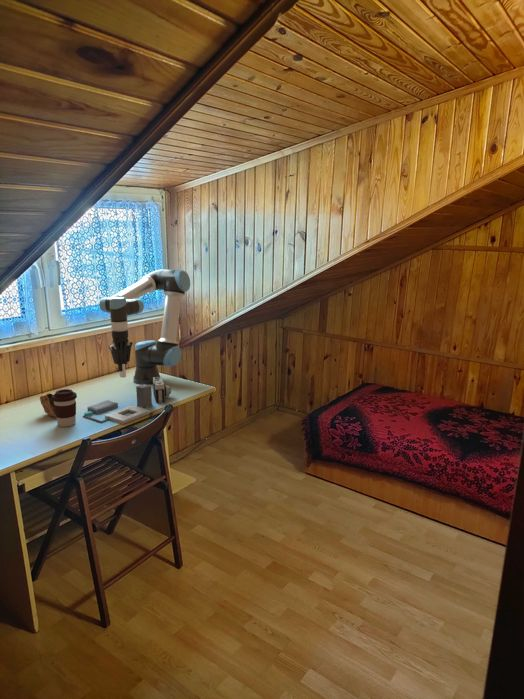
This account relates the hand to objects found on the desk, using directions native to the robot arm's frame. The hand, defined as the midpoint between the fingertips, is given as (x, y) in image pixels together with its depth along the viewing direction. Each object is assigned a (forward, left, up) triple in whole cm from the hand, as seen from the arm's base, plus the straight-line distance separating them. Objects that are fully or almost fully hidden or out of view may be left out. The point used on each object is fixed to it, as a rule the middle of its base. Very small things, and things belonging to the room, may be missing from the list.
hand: (123, 376), depth 228 cm
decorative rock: (+30, -13, -14) cm, 35 cm away
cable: (+21, +6, -13) cm, 26 cm away
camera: (-16, +10, -14) cm, 23 cm away
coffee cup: (+33, +1, -14) cm, 36 cm away
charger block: (-3, +11, -14) cm, 18 cm away
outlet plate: (+11, +15, -13) cm, 23 cm away
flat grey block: (+12, -1, -14) cm, 18 cm away
